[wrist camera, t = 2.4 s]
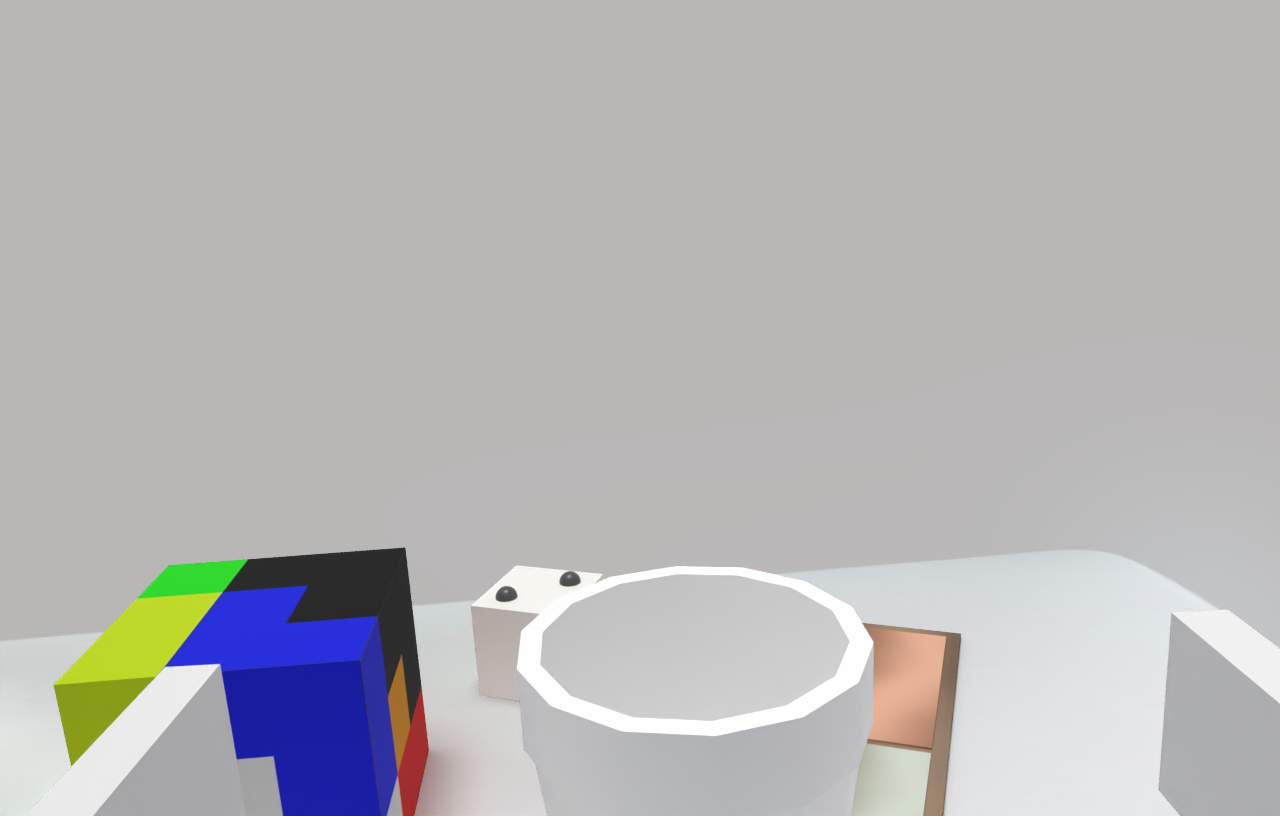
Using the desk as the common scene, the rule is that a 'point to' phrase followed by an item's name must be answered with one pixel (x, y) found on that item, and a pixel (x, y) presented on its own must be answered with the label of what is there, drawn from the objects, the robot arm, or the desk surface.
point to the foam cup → (696, 696)
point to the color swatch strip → (908, 723)
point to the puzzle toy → (280, 675)
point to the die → (515, 621)
